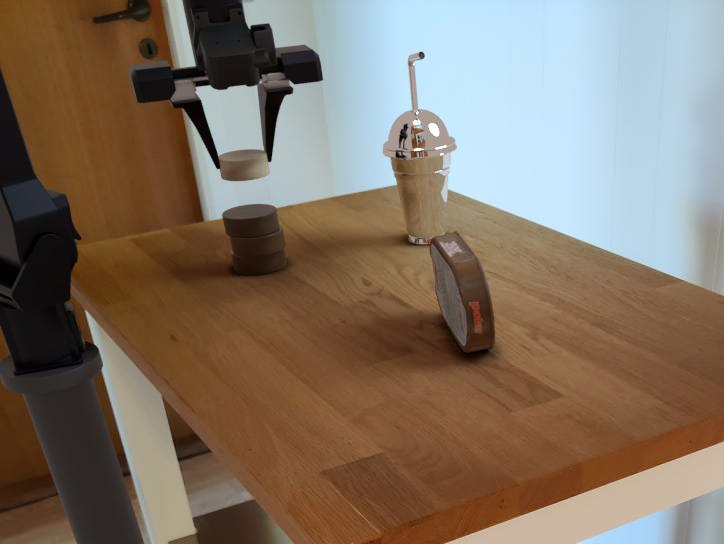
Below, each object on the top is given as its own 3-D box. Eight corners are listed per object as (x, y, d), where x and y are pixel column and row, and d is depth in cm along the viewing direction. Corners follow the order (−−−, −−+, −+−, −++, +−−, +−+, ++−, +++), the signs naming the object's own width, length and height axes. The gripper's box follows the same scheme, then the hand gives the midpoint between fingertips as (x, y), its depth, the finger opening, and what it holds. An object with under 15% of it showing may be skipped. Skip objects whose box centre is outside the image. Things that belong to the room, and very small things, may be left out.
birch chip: (224, 184, 104) (220, 163, 103) (218, 173, 108) (214, 153, 107) (273, 177, 105) (270, 156, 104) (265, 166, 109) (262, 146, 108)
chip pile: (238, 279, 111) (226, 222, 107) (229, 263, 115) (218, 208, 112) (293, 269, 112) (284, 214, 108) (283, 254, 117) (273, 200, 113)
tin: (499, 363, 88) (495, 266, 83) (465, 368, 88) (458, 271, 82) (462, 307, 100) (455, 219, 94) (431, 311, 99) (423, 223, 94)
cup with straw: (468, 227, 121) (457, 37, 109) (454, 251, 114) (440, 51, 102) (401, 228, 122) (382, 40, 110) (382, 251, 116) (360, 54, 103)
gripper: (116, 9, 88) (161, 195, 98) (321, -12, 92) (345, 168, 102) (110, -2, 97) (152, 171, 106) (299, -20, 101) (322, 147, 110)
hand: (243, 165), depth 106 cm, fingers closed on birch chip, 5 cm apart
